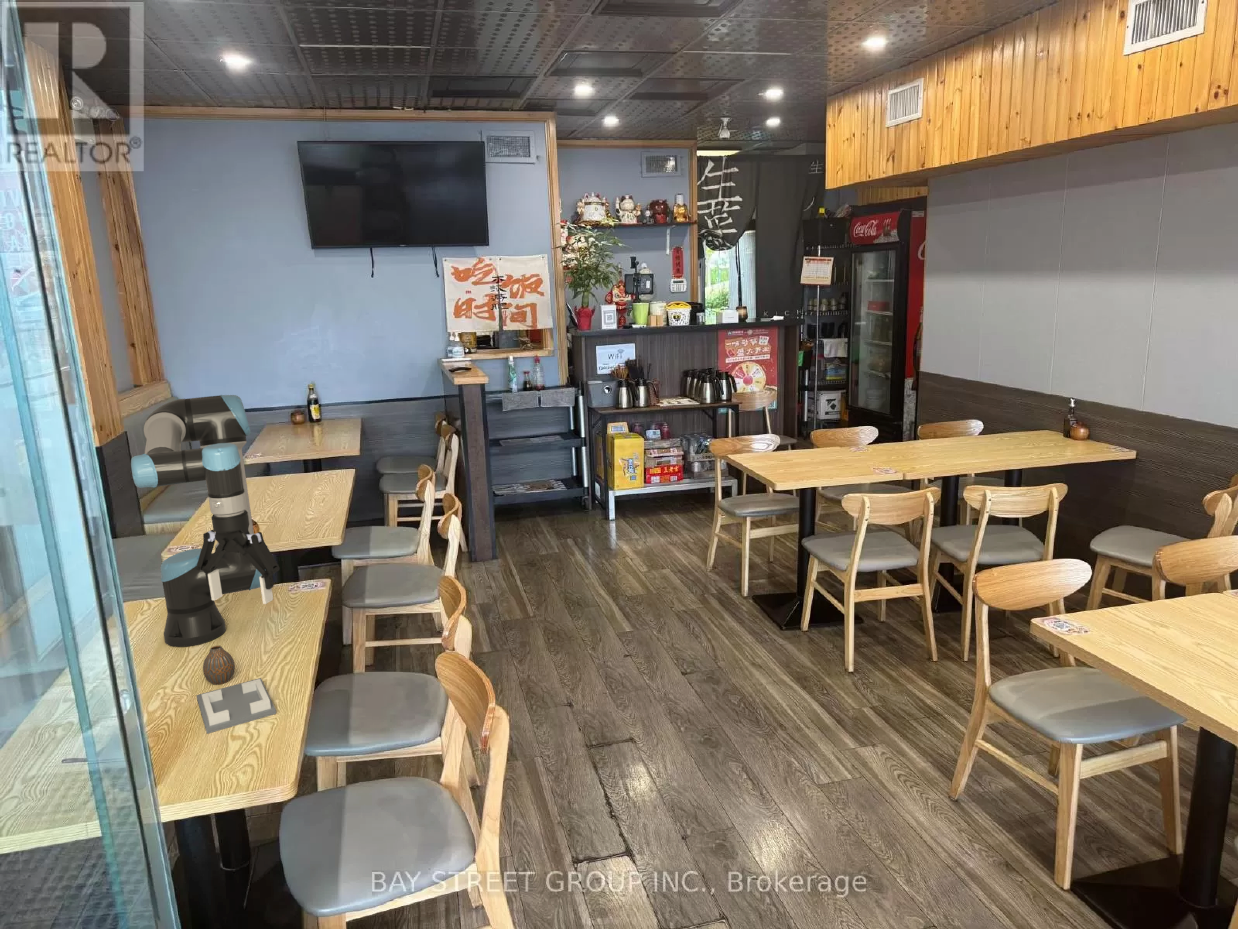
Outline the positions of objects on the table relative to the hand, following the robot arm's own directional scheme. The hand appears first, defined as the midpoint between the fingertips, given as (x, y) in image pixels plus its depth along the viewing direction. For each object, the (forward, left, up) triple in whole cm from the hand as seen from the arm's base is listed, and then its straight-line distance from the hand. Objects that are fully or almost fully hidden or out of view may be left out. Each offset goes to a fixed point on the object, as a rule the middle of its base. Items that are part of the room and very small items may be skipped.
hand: (242, 600), depth 193 cm
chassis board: (+8, -5, -22) cm, 24 cm away
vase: (-8, -6, -22) cm, 24 cm away
